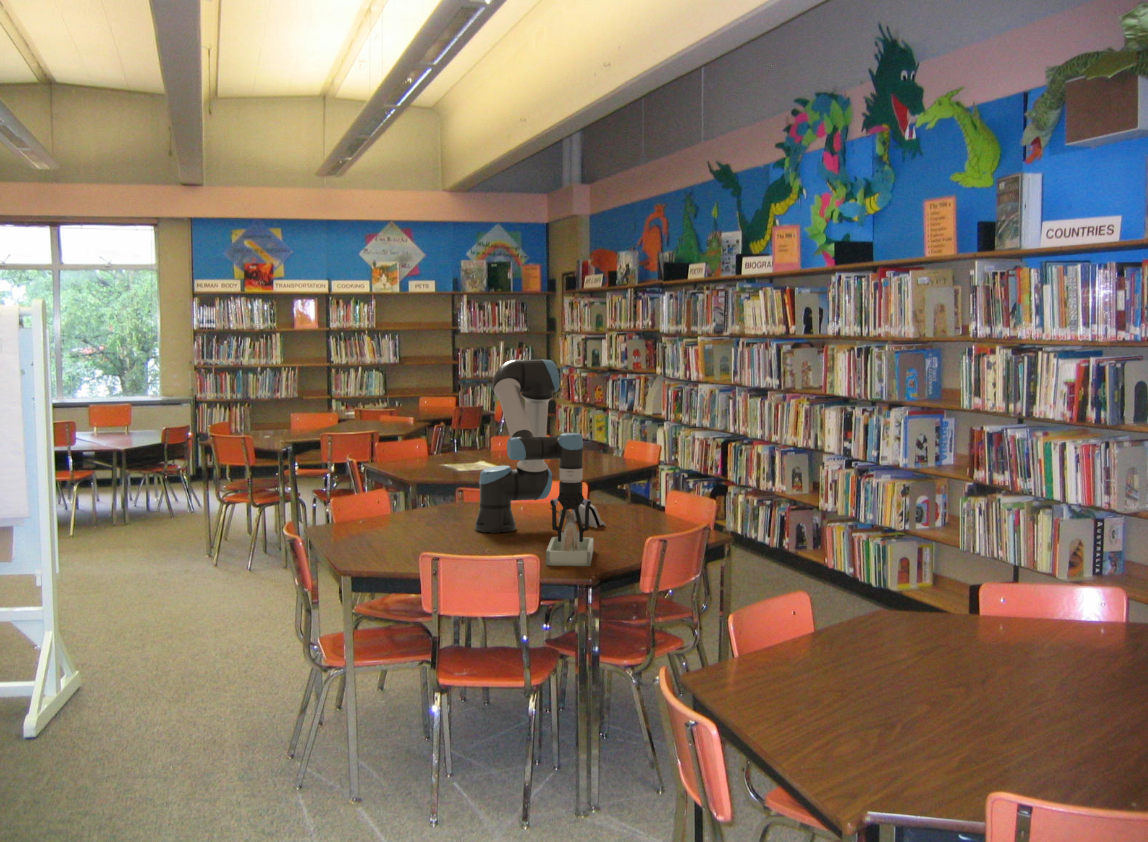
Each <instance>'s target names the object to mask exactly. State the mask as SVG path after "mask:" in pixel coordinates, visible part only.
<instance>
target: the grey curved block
mask: <svg viewBox="0 0 1148 842" xmlns="http://www.w3.org/2000/svg"><path fill="white" fill-rule="evenodd" d="M585 507H586V506H584V502H582V503H581V504H580V506H579V512H580V517H581V521H582V525H585ZM570 512H571V513H572V515H573V516H574V521H575V522H576V521H577V519H576V514H575V511H574V510H572V509H570ZM601 525H602V526H601ZM590 526H592V527H591V528H593V527H594V528H593V529H597V528H598V526H601V527H604V526H607V525H606V523H605V522H604V521H602V519H601V516H600V513H599V511H598V509H597V507H596V506H595V505H593V504H592V503H591V504H590V507H589V527H590Z"/></svg>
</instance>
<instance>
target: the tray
mask: <svg viewBox="0 0 1148 842" xmlns="http://www.w3.org/2000/svg"><path fill="white" fill-rule="evenodd" d="M576 541H577V539H576ZM572 543H573V542H572ZM593 554H594V537H583V542H580V551H577V550H576V551H573V545H572V544H571V546H570V551H561V542H558V536H552V537H551V538H550V541H549V543H548V546H547V549H546V551H545V565H546V566H551V567H552V566H554V567H555V566H556V567H560V566H561V567H564V566H565V567H591V566H592V565H591V564H592V560H593Z"/></svg>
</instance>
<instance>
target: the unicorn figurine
mask: <svg viewBox="0 0 1148 842" xmlns="http://www.w3.org/2000/svg"><path fill="white" fill-rule="evenodd" d="M549 509H550V510H551V511H552V507H549ZM559 510H560V511H559ZM559 510H557V509H556V514H559V515H558V519H557V521H558V523H560V519H561V514H562V510H563V508H562V509H559ZM563 529H564V530H563V531H564V539H563V540H564V543H563V544H564V547H563V551H570V546H571V544H572V545H573V551H576V550H577V541H576V539H577V531H578V529H577V525H576V521H574V516H573V515H572V511H571V510H570V509H568V510H566V514H565V523H564V528H563ZM572 542H573V543H572Z"/></svg>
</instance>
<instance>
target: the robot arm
mask: <svg viewBox="0 0 1148 842" xmlns="http://www.w3.org/2000/svg"><path fill="white" fill-rule="evenodd" d="M559 388H560V374H559V370H558V367H557V365H556V363H555V361H554V360H551V359H543V358H541V359H511V360H508V361H506V362H504V363H503V364H501V366H499V367H498V368H497V370H496V372H495V374H494V376H493V379H492V390H493V392H494V393H493V394H494V396H495V397H496V398H497V399H498V401H499V403H500V407H501V410H502V414H503V416H504V421H505V424H506V427H507V431H508V434H509V438H508V439H507V442H506V454H507V457H508V459H509V460H511V461H518V462H517V463H516V469H512V467H511V466H510V465H497V466H496V465H495V466H491V467H486V468H484V469H482V470H481V471H480V474H479V481H478V484H479V510H478V513H477V517H476V520H475V524H474V529H475V530H474V531H476V530H477V532H479V531H481V533H486V532H490V533H489V534H500V532H503V533H509V532H513V531H515V530H516V524H517V523H516V521H515V517H514V514H513V510H512V502H514V501H532V500H533V501H537V500H544V499H547V498H548V497H549V495H550V493H551V490H552V486H553V479H552V478H553V473H552V471H551V469H550V468H549V465H548V464H547V463H546V462H545V460H559V469H558V471H559V472H558V474H559V475H558V477H559V480H560V481H559V482H558V483H559V484H558V486H559V487H558V488H559V489H558V490H559V491H558V492H559V493H558V496H557V497H556V498H552V499H551V500H550V502H549V503H550V506H551V508H552V510H551V521H552V522H551V524H552V525H551V527H552V528H551V529H552V530H553V531H555V532H557V537H558V542H561V551H563V547H564V544H563V543H564V540H563V539H564V530H563V526H564V524H565V523H564V522H565V520H566V518H565V514H566V510H571V509H572V510H574V511H575V514H576V519H577V522H576V523H577V526H578V527H577V528H578V530H577V535H576V536H577V551H580V542H583V538H584V532H588V531H589V529H590V526H589V507H590V504H592V500H591V499H587V498H585V497H584V495H583V482H582V480H583V469H584V468H583V465H584V464H583V457H584V456H583V452H584V442H583V440H584V439H583V435H582V434H581V433H578V432H562V433H561V434H560V435H559V434H558V435H554V436H547V426H548V412H549V402H550V401H551V400H552V399H553V397H554V393H557V392H559ZM522 398H523V399H524V401H523V400H522ZM523 402H524V403H523ZM582 502H584V506H586V507H585V524H584V526H583V524H582V521H581V517H580V512H579V506H580V504H581V503H582ZM558 503H560V506H561V507H562V509H563V510H562V509H561V510H562V514H561V519H560V523H559V522H558V523H559V524H558V523H557V512H556V510H557V506H558ZM557 524H558V526H557Z"/></svg>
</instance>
